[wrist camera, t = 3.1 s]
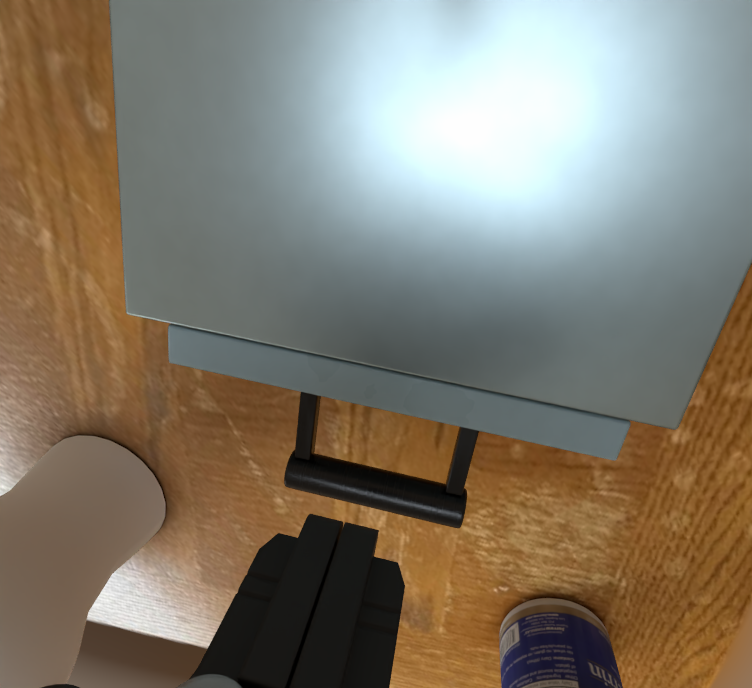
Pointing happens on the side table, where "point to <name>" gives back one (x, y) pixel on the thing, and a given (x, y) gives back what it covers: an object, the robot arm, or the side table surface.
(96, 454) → the cup
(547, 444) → the drawer
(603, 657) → the pill bottle
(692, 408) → the side table surface
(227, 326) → the drawer cabinet
